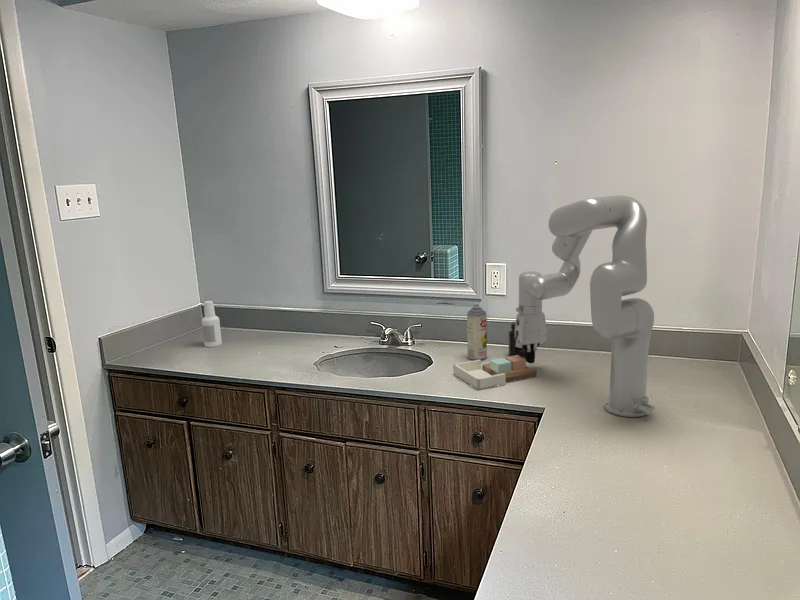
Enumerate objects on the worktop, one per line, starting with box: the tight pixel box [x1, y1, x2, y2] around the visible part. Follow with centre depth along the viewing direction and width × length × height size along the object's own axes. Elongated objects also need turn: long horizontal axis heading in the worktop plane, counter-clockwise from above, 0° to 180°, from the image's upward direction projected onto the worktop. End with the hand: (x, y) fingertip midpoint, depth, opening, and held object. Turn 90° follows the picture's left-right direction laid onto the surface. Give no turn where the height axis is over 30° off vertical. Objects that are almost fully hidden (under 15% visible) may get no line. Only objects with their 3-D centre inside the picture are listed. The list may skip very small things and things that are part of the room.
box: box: [452, 360, 506, 391], centre depth 199 cm, size 16×10×4 cm, turn 23°
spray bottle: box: [201, 300, 223, 348], centre depth 247 cm, size 7×7×18 cm
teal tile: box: [489, 357, 511, 373], centre depth 202 cm, size 5×5×3 cm
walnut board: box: [481, 363, 537, 383], centre depth 204 cm, size 14×12×2 cm
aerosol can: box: [466, 302, 488, 361], centre depth 218 cm, size 7×7×20 cm
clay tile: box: [504, 355, 527, 370], centre depth 204 cm, size 5×5×3 cm
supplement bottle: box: [507, 321, 525, 358], centre depth 220 cm, size 7×7×12 cm
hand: (529, 361), depth 206 cm, fingers closed
